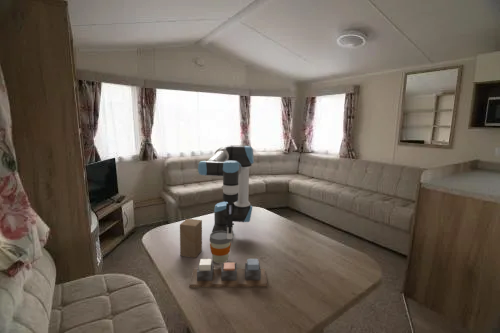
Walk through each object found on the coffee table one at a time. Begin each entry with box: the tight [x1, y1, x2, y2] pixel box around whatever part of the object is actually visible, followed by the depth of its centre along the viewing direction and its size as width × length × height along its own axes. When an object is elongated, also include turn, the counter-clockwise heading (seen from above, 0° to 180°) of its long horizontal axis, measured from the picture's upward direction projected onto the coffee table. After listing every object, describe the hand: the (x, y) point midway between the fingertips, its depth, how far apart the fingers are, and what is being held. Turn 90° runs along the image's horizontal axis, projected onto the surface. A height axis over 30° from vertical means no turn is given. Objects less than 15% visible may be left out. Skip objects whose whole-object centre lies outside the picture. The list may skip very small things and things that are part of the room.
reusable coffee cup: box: [209, 231, 232, 264], centre depth 146 cm, size 13×13×15 cm
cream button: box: [198, 258, 213, 271], centre depth 127 cm, size 6×6×5 cm
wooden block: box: [179, 218, 203, 259], centre depth 151 cm, size 10×10×20 cm
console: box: [189, 262, 268, 288], centre depth 128 cm, size 38×13×6 cm, turn 94°
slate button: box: [246, 258, 260, 270], centre depth 128 cm, size 6×6×5 cm
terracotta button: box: [224, 261, 236, 271], centre depth 128 cm, size 6×6×5 cm
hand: (229, 238), depth 125 cm, fingers closed
